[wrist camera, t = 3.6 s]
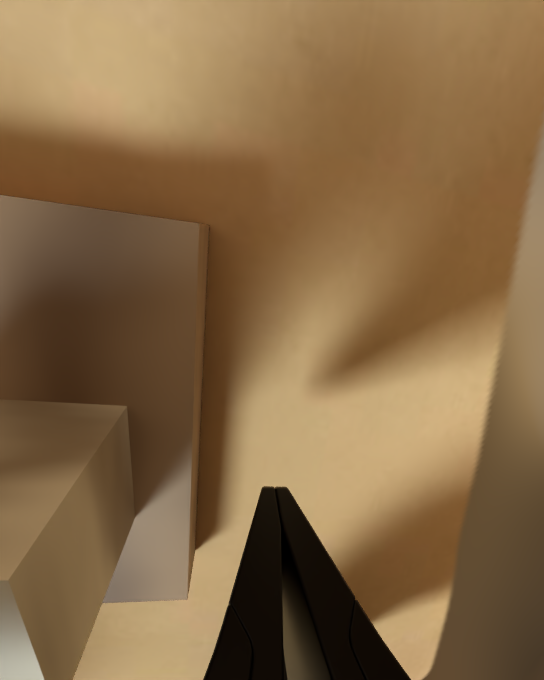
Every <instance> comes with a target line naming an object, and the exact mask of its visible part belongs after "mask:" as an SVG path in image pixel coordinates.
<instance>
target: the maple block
mask: <svg viewBox="0 0 544 680" xmlns="http://www.w3.org/2000/svg"><path fill="white" fill-rule="evenodd" d="M134 519H135V507H134V494H133V480H132V467H131V453H130V440H129V426H128V413H127V406H118V405H99V404H80V403H61V402H42V401H22V400H3V399H0V680H73V677H74V675H75V672H76V669H77V667H78V664H79V662H80V659H81V656H82V654H83V651H84V649H85V646H86V644H87V641H88V638H89V636H90V633H91V631H92V628H93V625H94V623H95V620H96V618H97V615H98V612H99V610H100V607H101V605H102V602H103V600H104V597H105V594H106V592H107V589H108V587H109V584H110V581H111V579H112V576H113V574H114V571H115V568H116V566H117V563H118V561H119V558H120V555H121V553H122V550H123V548H124V545H125V543H126V540H127V537H128V535H129V532H130V530H131V527H132V524H133V522H134Z"/></svg>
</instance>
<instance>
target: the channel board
mask: <svg viewBox="0 0 544 680" xmlns="http://www.w3.org/2000/svg"><path fill="white" fill-rule="evenodd" d="M208 244H209V225H205V224H200V223H194V222H187V221H180V220H173V219H166V218H159V217H152V216H145V215H138V214H131V213H124V212H117V211H110V210H103V209H96V208H89V207H82V206H75V205H68V204H61V203H54V202H47V201H40V200H33V199H26V198H19V197H12V196H5V195H0V399H3V400H22V401H42V402H61V403H80V404H99V405H118V406H127V413H128V426H129V440H130V453H131V467H132V480H133V494H134V507H135V519H134V522H133V524H132V527H131V530H130V532H129V535H128V537H127V540H126V543H125V545H124V548H123V550H122V553H121V555H120V558H119V561H118V563H117V566H116V568H115V571H114V574H113V576H112V579H111V581H110V584H109V587H108V589H107V592H106V594H105V597H104V600H103V602H102V603H117V602H142V601H167V600H187V599H188V592H189V586H190V580H191V573H192V567H193V561H194V554H195V538H196V516H197V493H198V470H199V448H200V425H201V402H202V380H203V357H204V334H205V312H206V289H207V266H208Z"/></svg>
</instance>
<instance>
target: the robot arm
mask: <svg viewBox="0 0 544 680" xmlns="http://www.w3.org/2000/svg"><path fill="white" fill-rule="evenodd" d="M203 680H411V679H410V678H409V676H408V675H407V673H406V672H405V671H404V669H403V668H402V667H401V665H400V664H399V662H398V661H397V660H396V658H395V657H394V655H393V654H392V653H391V651H390V650H389V648H388V647H387V645H386V644H385V643H384V641H383V640H382V638H381V637H380V635H379V634H378V632H377V631H376V629H375V628H374V626H373V624H372V623H371V621H370V620H369V618H368V617H367V615H366V614H365V612H364V610H363V609H362V607H361V605H360V604H359V602H358V601H357V600H355V596H354V594H353V593H352V591H351V589H350V588H349V586H348V585H347V583H346V581H345V580H344V578H343V577H342V575H341V573H340V572H339V570H338V568H337V567H336V565H335V564H334V562H333V560H332V559H331V557H330V556H329V554H328V552H327V551H326V549H325V547H324V546H323V544H322V543H321V541H320V539H319V538H318V536H317V535H316V533H315V531H314V530H313V528H312V526H311V525H310V523H309V522H308V520H307V518H306V517H305V515H304V514H303V512H302V510H301V509H300V507H299V505H298V504H297V502H296V501H295V499H294V497H293V496H292V494H291V493H290V491H289V489H288V488H287V487H275V488H274V487H268V486H264V487H262V489H261V493H260V496H259V500H258V503H257V507H256V510H255V514H254V517H253V521H252V524H251V528H250V531H249V534H248V538H247V541H246V545H245V548H244V552H243V555H242V559H241V562H240V566H239V569H238V573H237V576H236V579H235V583H234V586H233V590H232V593H231V597H230V600H229V605H228V607H227V610H226V614H225V617H224V620H223V624H222V627H221V630H220V633H219V637H218V640H217V643H216V646H215V649H214V652H213V655H212V658H211V660H210V663H209V666H208V668H207V671H206V674H205V676H204V679H203Z"/></svg>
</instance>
